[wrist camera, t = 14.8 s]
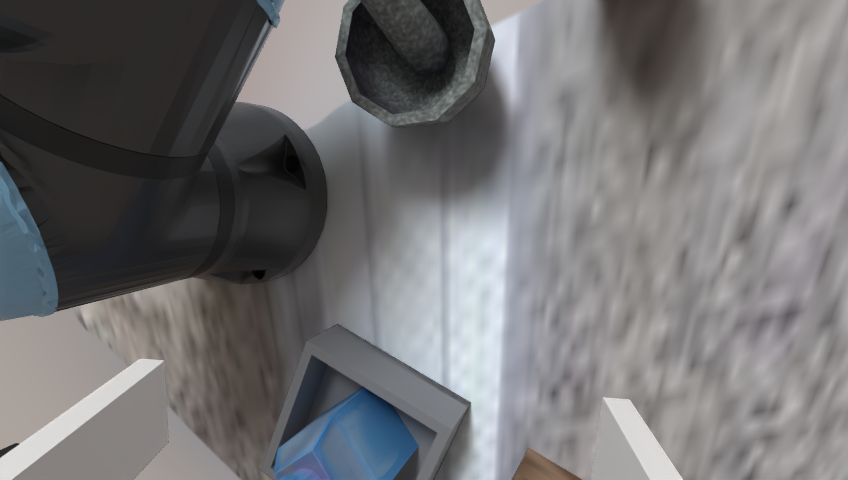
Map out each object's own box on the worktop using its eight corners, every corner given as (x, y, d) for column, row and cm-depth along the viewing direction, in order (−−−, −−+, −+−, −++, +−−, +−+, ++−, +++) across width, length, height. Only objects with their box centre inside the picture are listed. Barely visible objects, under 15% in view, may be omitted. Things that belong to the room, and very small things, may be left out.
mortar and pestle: (530, 100, 34) (485, 65, 23) (413, 156, 38) (326, 148, 27) (471, -52, 35) (398, -158, 24) (360, 18, 38) (252, -46, 27)
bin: (293, 443, 46) (260, 470, 41) (337, 324, 42) (306, 340, 38) (412, 525, 42) (388, 564, 38) (470, 402, 39) (451, 429, 35)
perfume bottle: (363, 476, 42) (270, 583, 31) (324, 412, 43) (219, 494, 32) (418, 445, 40) (339, 549, 29) (375, 378, 41) (281, 455, 30)
